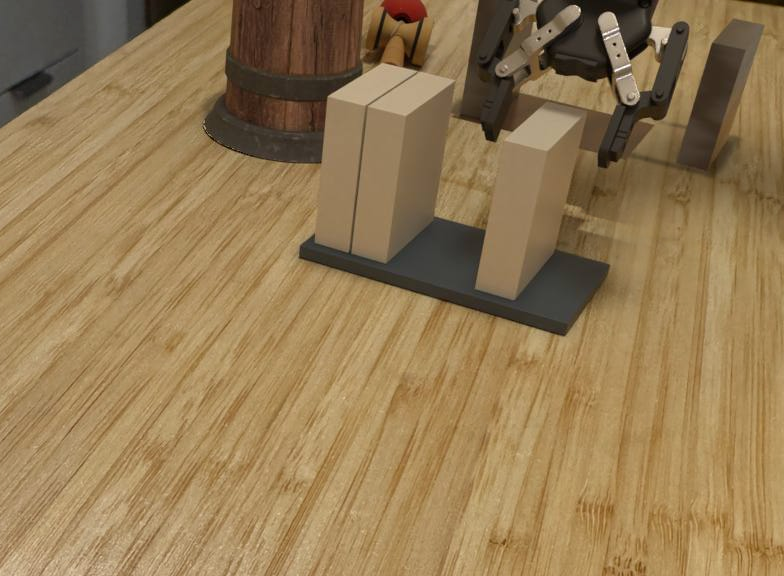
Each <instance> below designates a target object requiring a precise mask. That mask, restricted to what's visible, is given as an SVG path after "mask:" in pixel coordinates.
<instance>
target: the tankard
mask: <svg viewBox="0 0 784 576" xmlns="http://www.w3.org/2000/svg"><path fill="white" fill-rule="evenodd" d="M364 8H365V0H232V11H231V24H230V37H229V38H230V39H229V46H228V47H227V49H226V51H225V61H224V62H225V64H224V65H225V66H224V74H225V76H226V87H225V92H224V93H222V94H221V95H220V96H219V97H218V98H217V99H216V101H215V102H214V104H213V107H212V109H211V111H209V112H208V113H209V114H208V113H207V114H208V115H207V114H206V115H207V116H206V115H205V116H206V118H205V117H204V118H205V123H204V125H205V127H206V131H207V132H208V134H210V135H211V136H212V138H214V139H215V140H216V141H217V142H216V141H215V140H214V141H215V142H216V143H218V141H219V142H220V143H221V144H223V145H226V146H229V147H230V148H234V149H235V150H239V151H240V152H239V153H241V152H243V153H242V154H244V153H245V154H244V155H247V154H248V155H247V156H251V155H253V156H252V157H254V158H255V157H256V158H259V159H265V160H270V161H276V162H277V161H278V162H287V163H288V162H289V163H303V164H305V163H314V164H315V163H317V164H318V163H322V153H323V142H324V131H325V120H326V109H327V97H328V96H329V95H331V94H332V93H334V92H335V91H337V90H339V89H340V88H342V87H344V86H345V85H347V84H349V83H350V82H352V81H354V80H355V79H357V78H359V77H360V76H362V75H363V71H364V70H363V69H364V63H363V60H362V59H361V52H362V37H363V23H364ZM208 134H207V135H208ZM212 138H211V139H212ZM221 144H220V145H221ZM223 145H222V146H223ZM230 148H229V149H230Z"/></svg>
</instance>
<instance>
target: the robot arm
mask: <svg viewBox="0 0 784 576" xmlns="http://www.w3.org/2000/svg"><path fill="white" fill-rule="evenodd" d="M659 2H660V0H541V1H540V2H534V1H530V0H500V2H499V4H498V6H497V9H496V11H495V13H494V15H493V17H492V19H491V22H490V24H489V26H488V28H487V30H486V32H485V35H484V37H483V39H482V41H481V43H480V46H479V48H478V50H477V52H476V54H475V60H476V64H477V67H478V75H479V79H480V80H481V81H482V82H484V83H487V82H488V83H490V84H491V88H490V90H489V93H488V95H487V98H486V100H485V103H484V106H483V108H482V111H481V113H480V122H481V124H480V125H481V131H482V132H483V134H484V139H485V141H487V142H491V143H497V141H498V138H499V136H500V134H501V131H502V126H503V124H504V121H505V119H506V116H507V113H508V111H509V108H510V106H511V103H512V101H513V93H512V92H514V91H515V90H517V89H518V88H520V87H521V88H522V86H524V85H526V84H527V83H528V82H530V81H531V82H535V81H536V80H538V79H540V78H541V77H543V76H544V75H545V74H547V73H548V72H549V71H551V70H552V69H553V70H554V71H555V73H554V74H555V75H557V76H563V77H579V78H580V79H582V80H584V81H586V82H591V83H595V84H597V83H598V80H603V79H607V82H608V85H609V88H610V91H611V94H612V97H613V99H614V100H615V102H616V104H615V108H614V110H613V113H612V114H611V115H612V118H611V120H610V123H609V125H608V128H607V130H606V133H605V135H604V138H603V141H602V143H601V146H600V148H599V152H598V153H597V167H598V168H601V169H606V170H608V169H609V167H610V165H611V163H612V162H613V163H618V162H619V160H621V159H620V158H621V157H622V156H623V153H624V151H625V148H626V145H627V143H628V140H629V138H630V135H631V133H632V130H633V128H634V125H635V124H636V123H637V122H638V121H641V120H644V119H651V120H653V121H655V122H657V121H658V122H659V121H662V120H664V119H665V118H666V117H667V114H668V112H669V108H670V106H671V102H672V100H673V96H674V93H675V90H676V87H677V84H678V81H679V78H680V75H681V71H682V69H683V65H684V62H685V58H686V56H687V53H688V47H689V37H690V25H689V23H688V22H687V21H685V20H681V21H677V22H675V23H674V24H673V25H672V26H671V27H664V26H656V25H653V23H652V20H653V16H654V14H655V12H656V9H657V7H658V4H659ZM531 22H533V23H536V24H535V25H536V31H535V32H534V33H531V36H529V37H528V38H526V39H525V40H524V41H523V42H522V43H521V45H520V47H519V48H518V49H517V50H516V51H515V52H513V53H512V54H511V55H509V56H508V57H506V58H505V59H504V60H502V59H503V57H504V55H505V53H506V50H507V48H508V46H509V44H510V42H511V40H512V37H513V35H514V33H516V34H520V33H521V31H522V30H523V29H524V28H525V26H526V25H527V24H529V23H531ZM648 47H651V48H652V49H653V50H654V59H655V62H657V63H658V64H659V66H658V70H657V72H656V76H655V79H654V81H653V85H652V88H651V90H645V91H639V87H638V84H637V82H636V79H635V76H634V72H633V68H632V63H631V62H632V60H634V59H635V58H636V57H638V56H639V55H640V54H641V53H643V52H645V51H646V50H647V49H648ZM542 51H543V52H542ZM521 88H520V89H521Z"/></svg>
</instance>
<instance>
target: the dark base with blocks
mask: <svg viewBox="0 0 784 576" xmlns="http://www.w3.org/2000/svg"><path fill="white" fill-rule="evenodd" d="M456 82H457V81H456V79H452V78H448V77H445V76H444V77H443V76H439V75H436V74H431V73H426V72H422V71H419V72H418V71H417V70H414V69H410V68H405V67H403V68H402V67H398V66H393V65H389V64H385V63H382V64H380V65H379V64H378V65H377V66H375V67H373V68H372V69H370V70H369V71H367V72H365V73H364V74H363V73H362V76H360V77H359V78H357V79H355V80H354V81H352V82H350V83H349V84H347V85H345V86H344V87H342V88H340V89H339V90H337V91H335V92H334V93H332V94H331V95H329V96H328V97H327V109H326V120H325V131H324V142H323V153H322V162H321V164H320V165H321V166H320V177H319V186H318V188H319V189H318V200H317V212H316V221H315V232H314V233H313V234H312V235H311V236H310V237H308V238H307V239H306V240H305V241H303V242H302V243H301V244H299V250H298V251H299V252H298V257H299V258H301V259H303V260H309V261H312V262H314V263H318V264H322V265H325V266H328V267H332V268H335V269H338V270H342V271H345V272H348V273H352V274H356V275H358V276H362V277H365V278H369V279H371V280H375V281H379V282H382V283H386V284H389V285H392V286H396V287H400V288H403V289H406V290H409V291H413V292H416V293H419V294H423V295H426V296H430V297H433V298H436V299H440V300H444V301H447V302H450V303H453V304H457V305H460V306H464V307H466V308H471V309H473V310H477V311H481V312H484V313H487V314H491V315H494V316H497V317H500V318H503V319H507V320H511V321H513V322H517V323H520V324H525V325H528V326H531V327H535V328H538V329H541V330H544V331H547V332H551V333H554V334H558V335H561V336H566V335H567V333H568V332H569V330H570V329H571V328H572V326H573V325H574V324H575V322H576V321H577V319H578V318H579V316H580V315H581V313H582V312H583V311H584V309H585V308H586V306H587V305H588V304H589V302H590V301H591V300H592V298H593V297H594V295H595V294H596V293H597V291H598V290H599V288H600V287H601V286H602V284H603V283H604V282H605V280H606V278H608V276H609V272H610V268H611V264H610V263H606V262H603V261H599V260H595V259H592V258H588V257H585V256H582V255H577V254H574V253H570V252H566V251H563V250H559V249H556V248H555V250H554V253H553V255H552V256H551V257H550V258H549V259H548V261H547V262H546V263H545V264H544V265H543V267H542V268H541V269H540V270H539V271H538V273H537V274H536V275H535V276H534V277H533V279H532V280H531V281H530V282H529V284H528V285H527V286H526V287H525V288H524V290H523V291H522V292H521V293H520V294H519V296H518V297H517V298H516V299H515V300H510V299H507V298H503V297H500V296H497V295H493V294H490V293H486V292H483V291H479V290H476V289H475V285H476V280H477V274H478V269H479V264H480V259H481V254H482V249H483V244H484V238H485V233H486V229H482V228H479V227H475V226H472V225H468V224H464V223H462V222H461V223H460V222H458V221H454V220H451V219H447V218H443V217H439V216H436V215H435V213H436V206H437V200H438V194H439V188H440V181H441V175H442V171H443V170H442V168H443V163H444V157H445V151H446V144H447V137H448V132H449V125H450V120H451V114H452V108H453V107H452V106H453V101H454V95H455V89H456Z"/></svg>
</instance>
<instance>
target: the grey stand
mask: <svg viewBox="0 0 784 576" xmlns="http://www.w3.org/2000/svg"><path fill="white" fill-rule="evenodd" d="M530 1H534V2H537V3H539V1H538V0H530ZM499 2H500V0H478V2H477V8H476V14H475V21H474V26H473V32H472V38H471V45H470V50H469V51H470V52H469V57H468V63H467V68H466V69H467V70H466V76H465V81H464V87H463V92H462V99H461V105H460V109H459V110H458V111H457V112H456V113H454V114H452V115H451V118H453V119H459V120H462V121H465V122H470V123H474V124H478V125H481V122H480V113H481V111H482V108H483V106H484V103H485V100H486V98H487V95H488V93H489V90H490V88H491V84H490V83H488V82H487V83H484V82H482V81H481V80H480V79H479V75H478V67H477V64H476V60H475V54H476V52H477V50H478V48H479V46H480V43H481V41H482V39H483V37H484V35H485V32H486V30H487V28H488V26H489V24H490V22H491V19H492V17H493V15H494V13H495V11H496V9H497V6H498V4H499ZM533 26H534V22H531V23H529V24H527V25H526V26H525V28H524V29H523V30H522V31H521V33H520V34H516V33H514V35H513V37H512V40H511V42H510V44H509V46H508V48H507V50H506V53H505V55H504V57H503V59H502V60H504V59H505V58H506V57H508V56H509V55H511V54H512V53H513V52H515V51H516V50H517V49H518V48H519V47H520V45H521V43H522V42H523V41H524V40H525V39H526V38H528V37H529V36H531V35H532V32H533ZM764 29H765V24H764V23H759V22H754V21H748V20H744V19H738V18H732V19H731V20H730V21H729V23H728V24H727V25H726V26H725V27H724V28H723V30H722V31H721V32H720V33H719V34H718V35H717V36H716V37H715V39H714V40H713V41H712V42H711V45H710V48H709V52H708V55H707V58H706V61H705V64H704V68H703V71H702V74H701V78H700V80H699V85H698V88H697V91H696V95H695V99H694V101H693V105H692V108H691V112H690V115H689V119H688V122H687V125H686V128H685V131H684V135H683V139H682V142H681V144H680V148H679V152H678V155H677V158H676V162H675V164H677V165H681V166H685V167H690V168H693V169H697V170H702V171H706V172H707V171H709V169H710V168H711V166H712V165H713V163H714V161H715V160H716V159H717V157H718V156H719V154H720V152H721V151H722V150H723V148H724V147H725V145H726V143H728V140H729V137H730V134H731V130H732V128H733V124H734V121H735V118H736V115H737V112H738V109H739V106H740V103H741V100H742V97H743V94H744V91H745V88H746V84H747V81H748V79H749V76H750V72H751V69H752V66H753V63H754V60H755V57H756V54H757V51H758V49H759V45H760V41H761V39H762V35H763V32H764ZM521 88H522V86H521V87H520V88H518V89H517V90H515V91H514V92H512V93H513V101H512V103H511V106H510V108H509V111H508V113H507V116H506V119H505V121H504V124H503V126H502V129H501V131H507V132H510V133H512V132H513V131H514V130H515V129H517V128H518V127H519V126H520V125H521V124H522V123H523V122H524V121H526V120H527V119H528V118H529V117H530V116H531V115H532V114H533V113H535V112H536V111H537V110H538V109H539V108H540V107H541V106H542V105H544V104H545V103H546V102H551V103H555V104H559V105H563V106H568V107H572V108H576V109H580V110H584V111H587V116H586V120H585V124H584V129H583V133H582V137H581V141H580V145H579V149H578V150H583V151H586V152H591V153H596V154H598V152H599V148H600V146H601V143H602V141H603V138H604V135H605V133H606V130H607V128H608V125H609V123H610V120H611V118H612V115H613V114H611V113H607V112H602V111H598V110H594V109H589V108H586V107H581V106H577V105H574V104H569V103H565V102H561V101H557V100H552V99H548V98H544V97H539V96H536V95H531V94H526V93H522V92H521ZM654 127H655V123H654V124H653V123H649V122H645V121H641V120H639V121H638V122H637V123H636V124H635V125H634V128H633V130H632V133H631V135H630V138H629V140H628V143H627V145H626V148H625V151H624V153H623V156H622V157H621V158H620V160H624V161H626V160H627V159H628V158H629V156H630V155H631V154H632V153H633V152H634V150H635V149H637V147H638V146H639V144H640V143H641V142H642V141H643V140H644V139H645V137H646V136H648V134H649V133H650V131H651V130H652V129H653V128H654Z"/></svg>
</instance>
